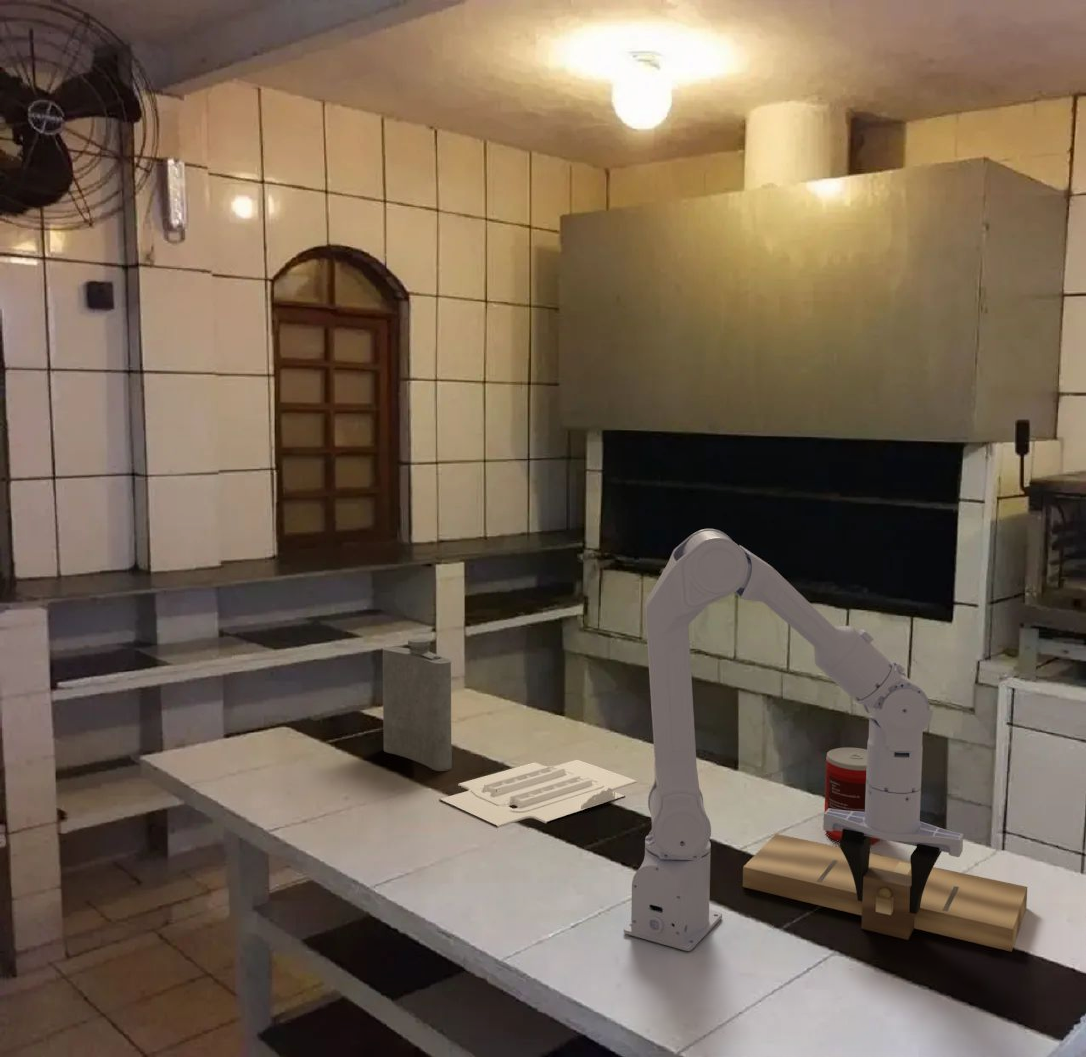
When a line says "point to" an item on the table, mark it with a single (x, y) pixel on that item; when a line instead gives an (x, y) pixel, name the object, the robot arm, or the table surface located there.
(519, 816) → the tray
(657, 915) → the robot arm
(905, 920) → the brown block with bar
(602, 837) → the table surface
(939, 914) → the oak board
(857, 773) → the canned food
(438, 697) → the hip flask
